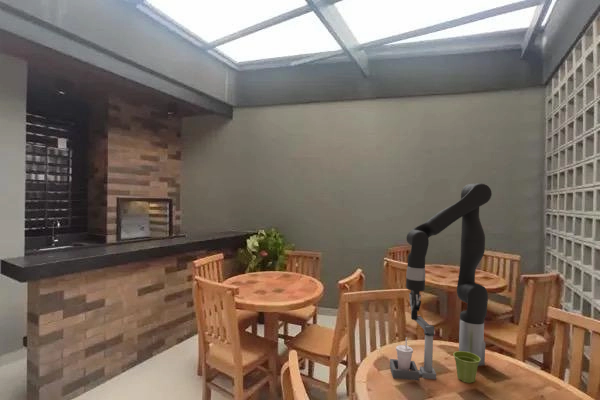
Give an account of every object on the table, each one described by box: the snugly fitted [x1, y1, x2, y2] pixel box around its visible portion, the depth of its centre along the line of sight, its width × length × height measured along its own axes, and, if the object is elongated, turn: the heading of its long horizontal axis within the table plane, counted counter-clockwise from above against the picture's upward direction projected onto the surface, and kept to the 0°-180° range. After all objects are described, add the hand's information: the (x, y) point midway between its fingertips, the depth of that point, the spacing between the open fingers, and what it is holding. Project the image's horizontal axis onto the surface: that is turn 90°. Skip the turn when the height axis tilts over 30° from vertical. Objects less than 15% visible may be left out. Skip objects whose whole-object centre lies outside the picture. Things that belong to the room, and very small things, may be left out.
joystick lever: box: [413, 314, 435, 337], centre depth 140 cm, size 16×4×3 cm, turn 0°
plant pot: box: [452, 350, 481, 384], centre depth 132 cm, size 9×9×9 cm
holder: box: [389, 334, 437, 381], centre depth 135 cm, size 16×9×16 cm, turn 82°
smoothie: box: [395, 337, 414, 370], centre depth 135 cm, size 6×6×14 cm
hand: (414, 319), depth 145 cm, fingers closed
